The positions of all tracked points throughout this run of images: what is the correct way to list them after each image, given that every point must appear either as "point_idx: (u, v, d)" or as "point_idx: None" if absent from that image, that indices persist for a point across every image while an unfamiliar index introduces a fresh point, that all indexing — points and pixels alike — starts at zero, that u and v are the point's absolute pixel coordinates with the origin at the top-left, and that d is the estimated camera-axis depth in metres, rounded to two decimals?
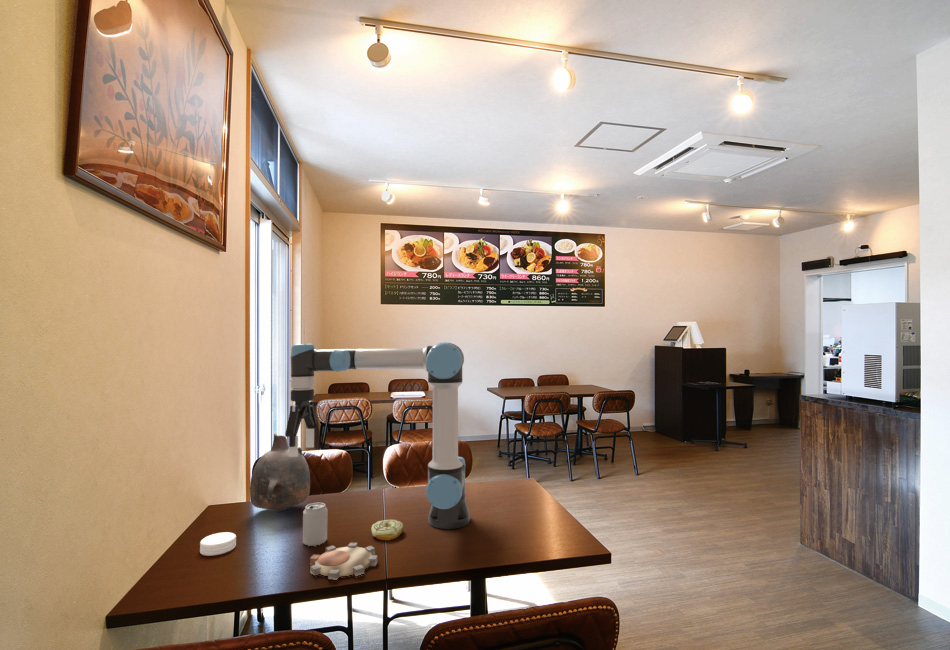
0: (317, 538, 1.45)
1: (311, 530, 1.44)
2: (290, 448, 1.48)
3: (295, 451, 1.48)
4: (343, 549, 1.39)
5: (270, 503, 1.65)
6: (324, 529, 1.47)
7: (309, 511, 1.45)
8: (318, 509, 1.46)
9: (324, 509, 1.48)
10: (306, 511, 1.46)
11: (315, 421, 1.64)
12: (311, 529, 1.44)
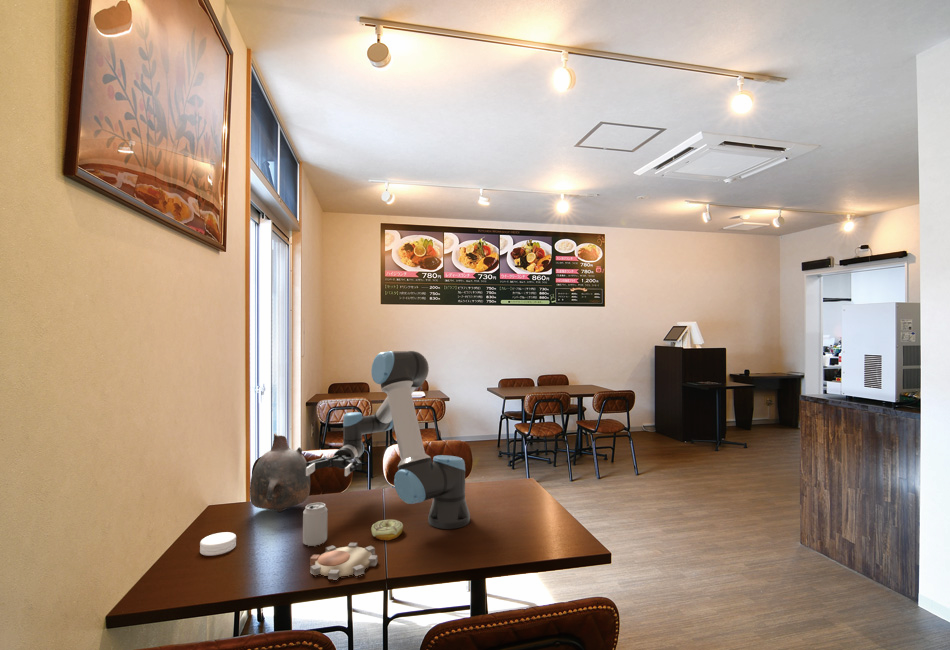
0: (317, 538, 1.45)
1: (311, 530, 1.44)
2: None
3: None
4: (343, 549, 1.39)
5: (270, 503, 1.65)
6: (324, 529, 1.47)
7: (309, 511, 1.45)
8: (318, 509, 1.46)
9: (324, 509, 1.48)
10: (306, 511, 1.46)
11: (358, 462, 1.67)
12: (311, 529, 1.44)
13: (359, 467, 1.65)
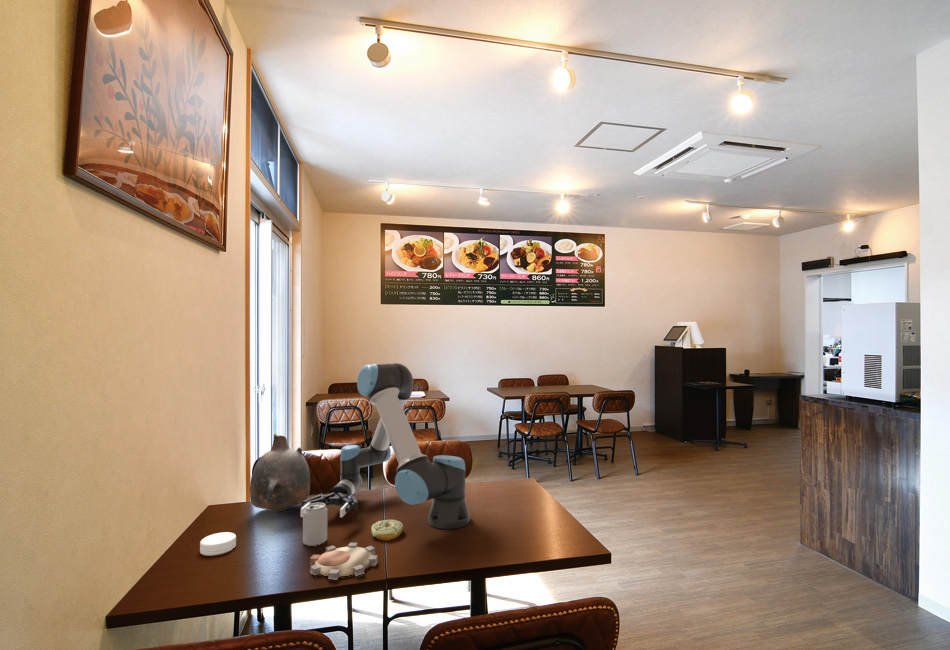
0: (317, 538, 1.45)
1: (311, 530, 1.44)
2: None
3: None
4: (343, 549, 1.39)
5: (270, 503, 1.65)
6: (324, 529, 1.47)
7: (309, 511, 1.45)
8: (318, 509, 1.46)
9: (324, 509, 1.48)
10: (306, 511, 1.46)
11: (354, 501, 1.63)
12: (311, 529, 1.44)
13: (355, 506, 1.62)
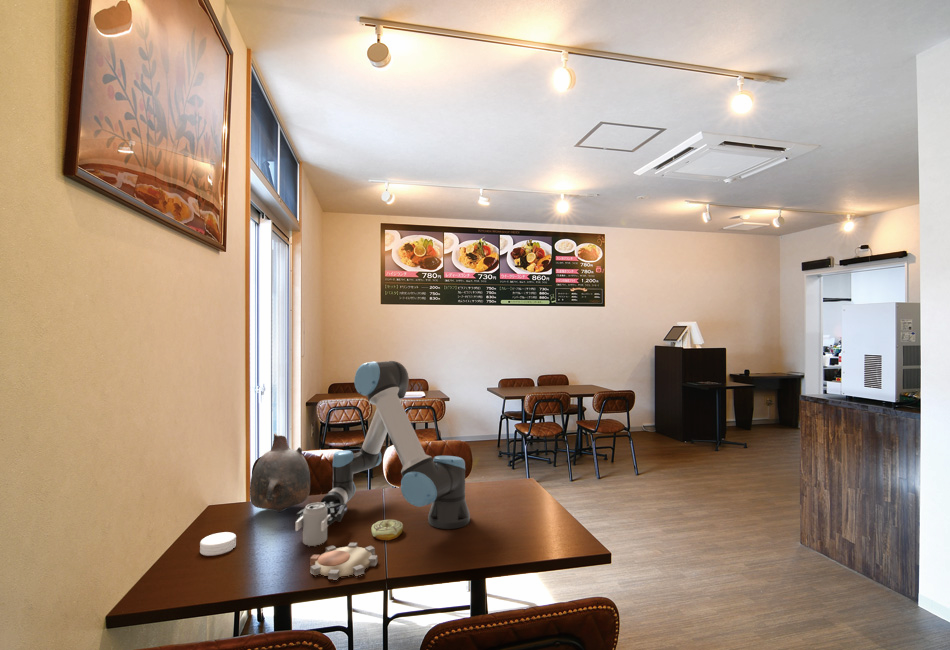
0: (317, 538, 1.45)
1: (311, 530, 1.44)
2: None
3: None
4: (343, 549, 1.39)
5: (270, 503, 1.65)
6: None
7: (309, 511, 1.45)
8: (318, 509, 1.46)
9: (324, 509, 1.48)
10: (306, 511, 1.46)
11: (338, 512, 1.52)
12: (311, 529, 1.44)
13: (337, 518, 1.50)
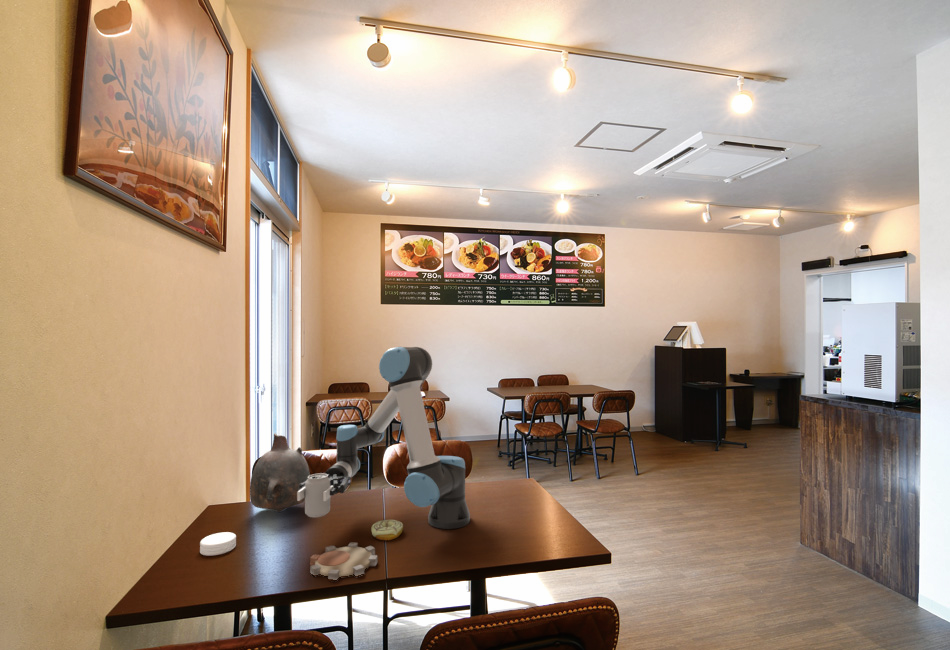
0: (319, 508, 1.40)
1: (314, 500, 1.40)
2: None
3: None
4: (343, 549, 1.39)
5: (270, 503, 1.65)
6: (327, 500, 1.42)
7: (311, 481, 1.41)
8: (320, 479, 1.41)
9: (327, 479, 1.43)
10: (308, 481, 1.41)
11: (342, 483, 1.47)
12: (314, 499, 1.40)
13: (341, 490, 1.46)
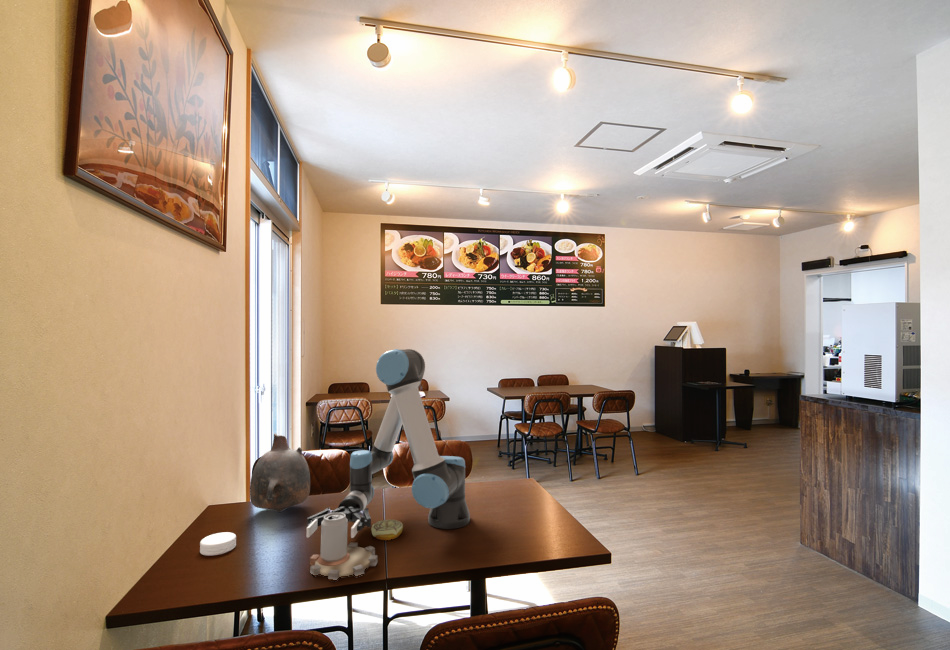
0: (336, 552, 1.30)
1: (331, 544, 1.30)
2: None
3: None
4: None
5: (270, 503, 1.65)
6: (344, 542, 1.32)
7: (328, 522, 1.31)
8: (338, 520, 1.32)
9: (344, 520, 1.33)
10: (325, 522, 1.32)
11: (367, 517, 1.39)
12: (331, 542, 1.30)
13: (368, 524, 1.37)
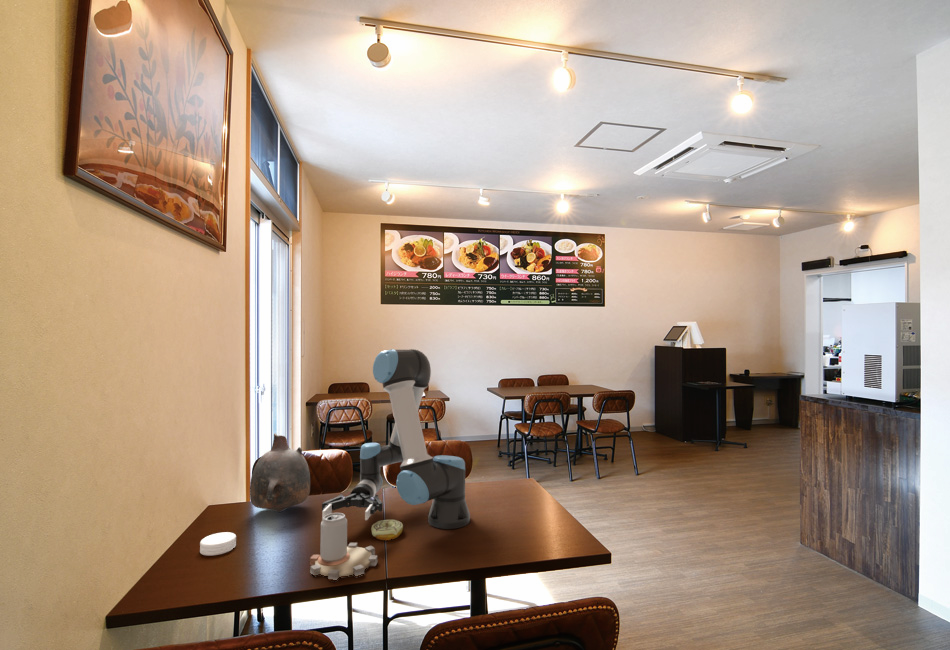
0: (336, 552, 1.30)
1: (330, 544, 1.30)
2: None
3: None
4: None
5: (270, 503, 1.65)
6: (344, 542, 1.32)
7: (328, 523, 1.31)
8: (337, 520, 1.32)
9: (344, 520, 1.33)
10: (324, 523, 1.31)
11: (379, 502, 1.52)
12: (330, 543, 1.30)
13: (380, 508, 1.50)
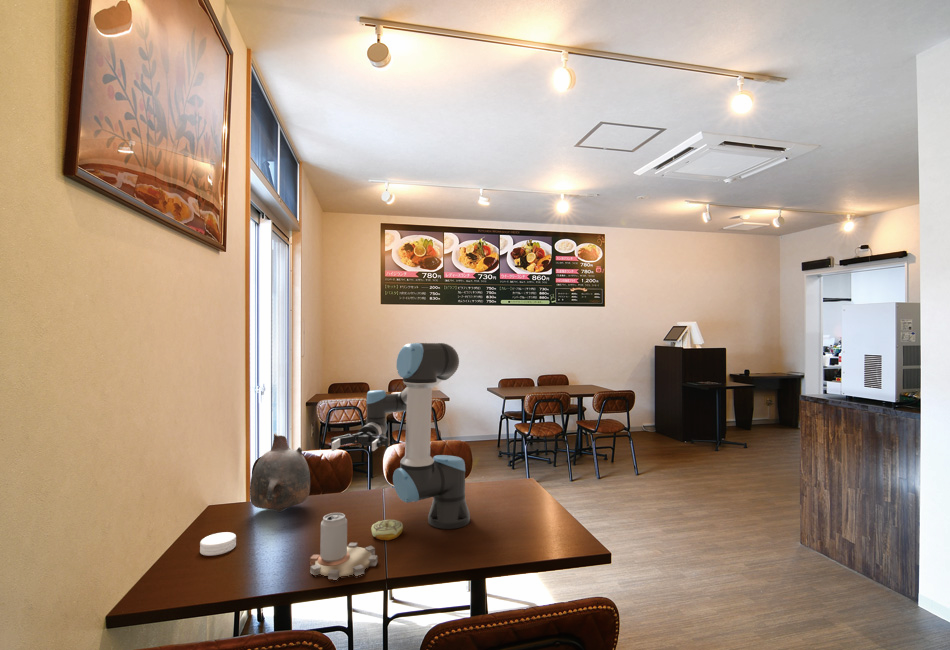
0: (336, 552, 1.30)
1: (330, 544, 1.30)
2: None
3: None
4: None
5: (270, 503, 1.65)
6: (344, 542, 1.32)
7: (327, 523, 1.31)
8: (337, 520, 1.32)
9: (344, 520, 1.33)
10: (324, 523, 1.31)
11: (384, 437, 1.61)
12: (330, 543, 1.30)
13: (386, 443, 1.59)
